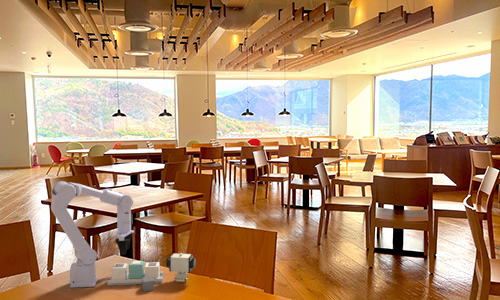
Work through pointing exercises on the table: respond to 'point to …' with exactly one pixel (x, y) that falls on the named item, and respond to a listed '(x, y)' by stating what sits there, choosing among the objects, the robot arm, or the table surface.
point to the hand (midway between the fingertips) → (124, 251)
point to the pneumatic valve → (181, 265)
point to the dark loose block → (148, 284)
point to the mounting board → (122, 278)
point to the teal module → (136, 269)
